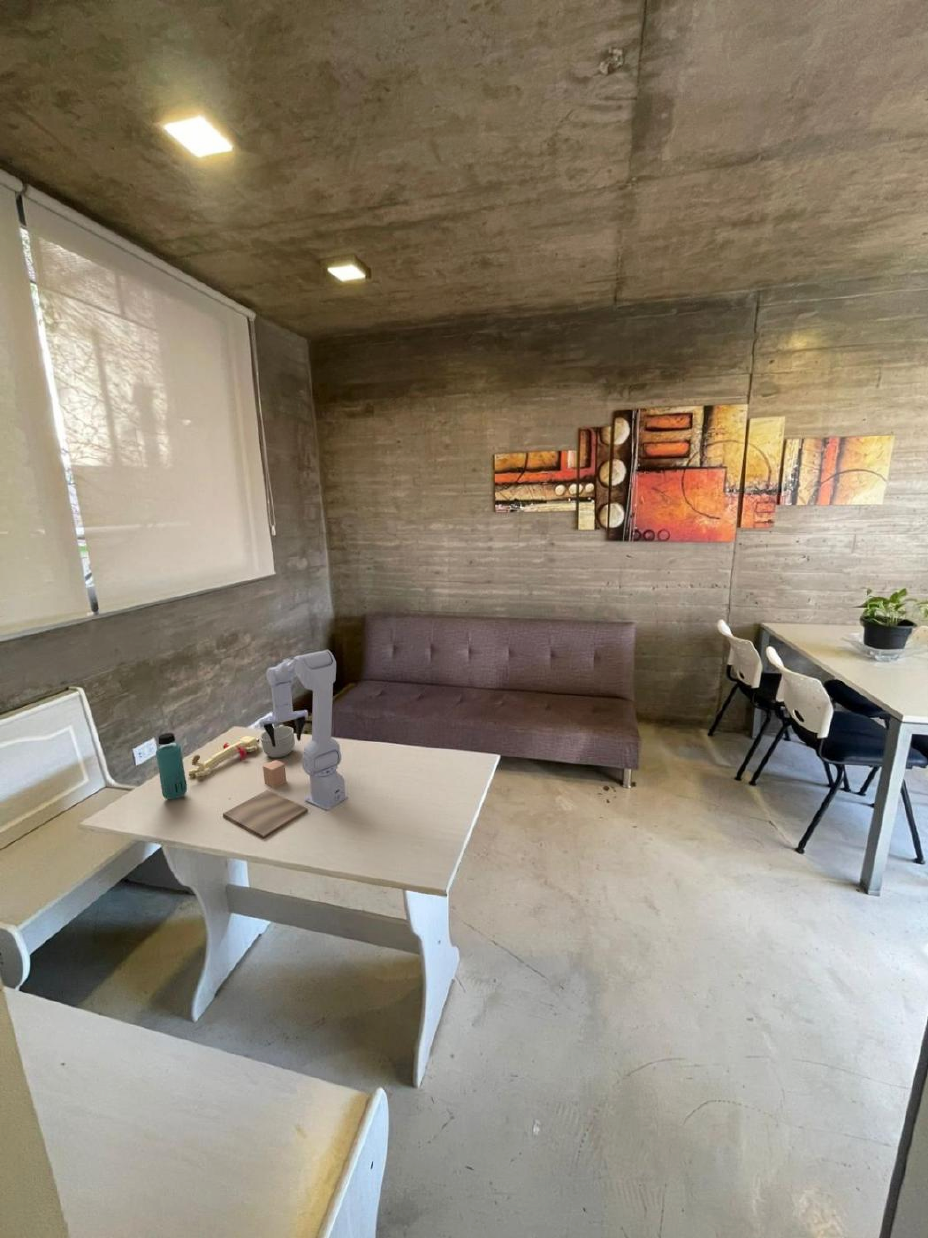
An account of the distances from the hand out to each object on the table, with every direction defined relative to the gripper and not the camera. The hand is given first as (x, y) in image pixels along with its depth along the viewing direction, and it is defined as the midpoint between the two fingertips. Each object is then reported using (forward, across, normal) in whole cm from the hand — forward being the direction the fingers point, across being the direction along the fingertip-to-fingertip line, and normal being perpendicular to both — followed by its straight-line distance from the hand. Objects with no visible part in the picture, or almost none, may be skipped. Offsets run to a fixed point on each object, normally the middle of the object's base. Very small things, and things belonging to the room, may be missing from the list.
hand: (286, 742), depth 157 cm
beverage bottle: (+10, +32, -2) cm, 34 cm away
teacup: (+10, 0, -15) cm, 18 cm away
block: (+10, +5, +6) cm, 12 cm away
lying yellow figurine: (+10, +16, -17) cm, 26 cm away
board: (+10, +11, +22) cm, 26 cm away
